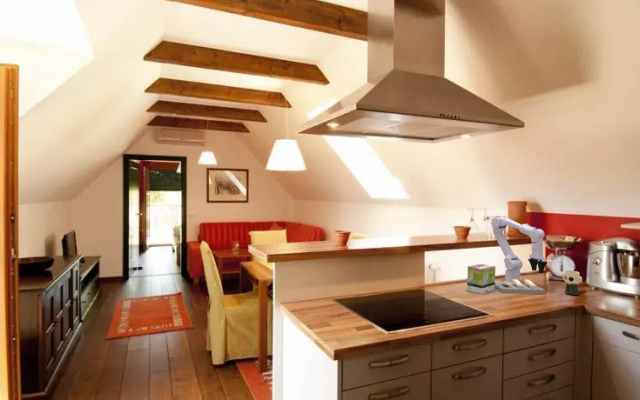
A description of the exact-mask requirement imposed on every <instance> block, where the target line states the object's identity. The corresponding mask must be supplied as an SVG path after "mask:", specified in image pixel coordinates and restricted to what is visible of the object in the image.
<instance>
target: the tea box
mask: <svg viewBox="0 0 640 400" xmlns="http://www.w3.org/2000/svg"><path fill="white" fill-rule="evenodd" d="M466 275H467V277H466V291H467V292H471V293H475V294H479V295H484V294H488V293H489V292H493V291H495V290H496V289H495V283H496V266H495V265H489V264H483V263H477V264H473V265H472V264H471V265H469V266H468V265H467V273H466Z"/></svg>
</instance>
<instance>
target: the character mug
mask: <svg viewBox="0 0 640 400" xmlns="http://www.w3.org/2000/svg"><path fill="white" fill-rule="evenodd" d="M561 278H562V279H563V281H564V282H565V283H566V284H565V285H566V286H565V290H564V292H565V294H568V295H571V296H572V295H573V296H576V295H579V289H578V284H580V283H583V278H582V276H580V272H579V271H577V270H576V271H575V270H564V272H563V273H562V276H561Z"/></svg>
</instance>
